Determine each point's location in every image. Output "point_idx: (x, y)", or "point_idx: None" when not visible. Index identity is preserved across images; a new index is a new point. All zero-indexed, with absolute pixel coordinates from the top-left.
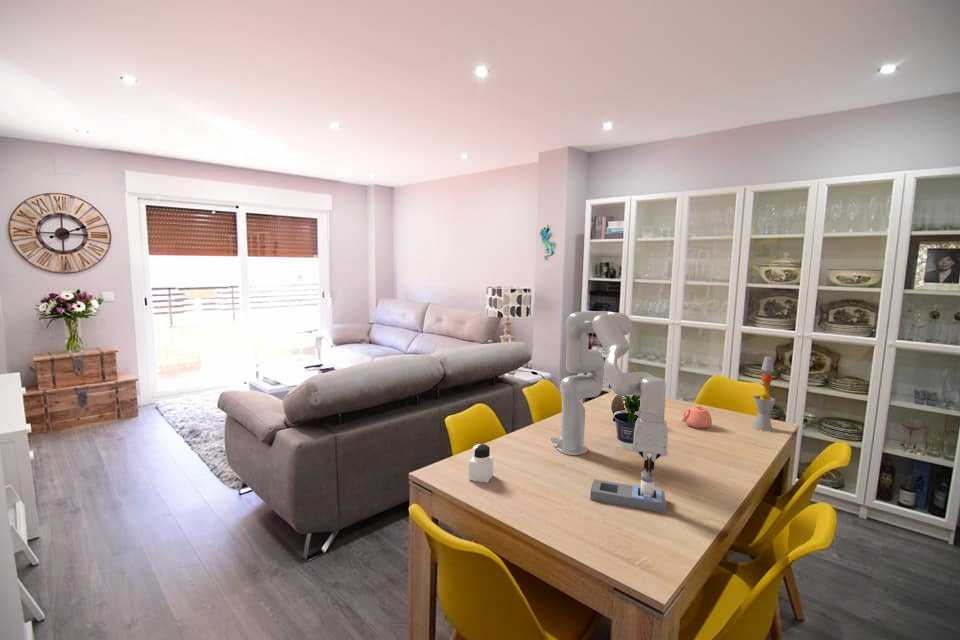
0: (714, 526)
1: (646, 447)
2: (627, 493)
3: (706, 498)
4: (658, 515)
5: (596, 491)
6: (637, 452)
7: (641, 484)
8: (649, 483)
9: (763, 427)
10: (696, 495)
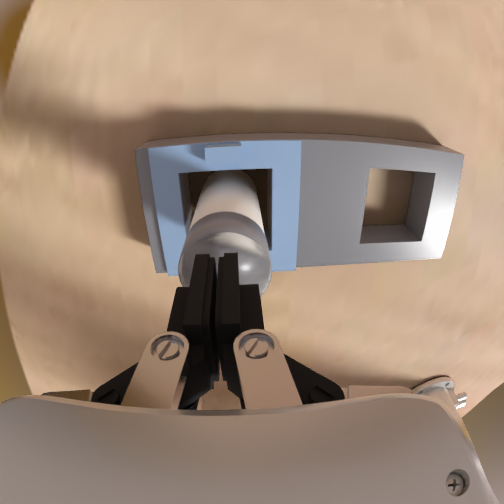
0: (6, 141)
1: (266, 492)
2: (321, 180)
3: (58, 306)
4: (172, 107)
5: (446, 155)
6: (356, 392)
7: (260, 219)
8: (211, 211)
9: None
10: (83, 314)
